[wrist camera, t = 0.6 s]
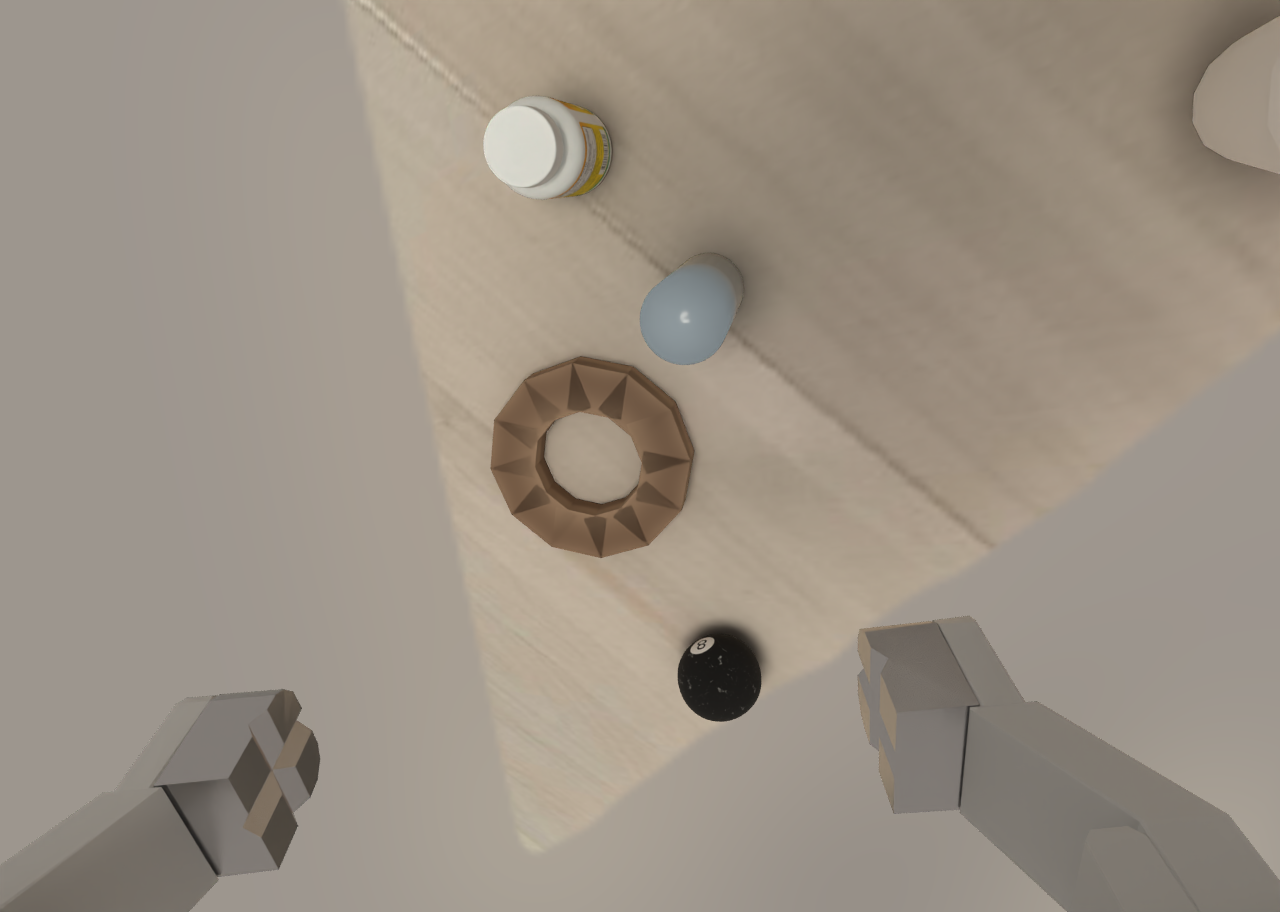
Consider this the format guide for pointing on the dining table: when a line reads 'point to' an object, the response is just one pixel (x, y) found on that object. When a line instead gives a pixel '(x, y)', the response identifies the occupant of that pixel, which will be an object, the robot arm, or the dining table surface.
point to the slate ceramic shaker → (692, 309)
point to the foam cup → (1243, 100)
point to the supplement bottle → (547, 148)
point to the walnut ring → (632, 410)
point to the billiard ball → (719, 677)
